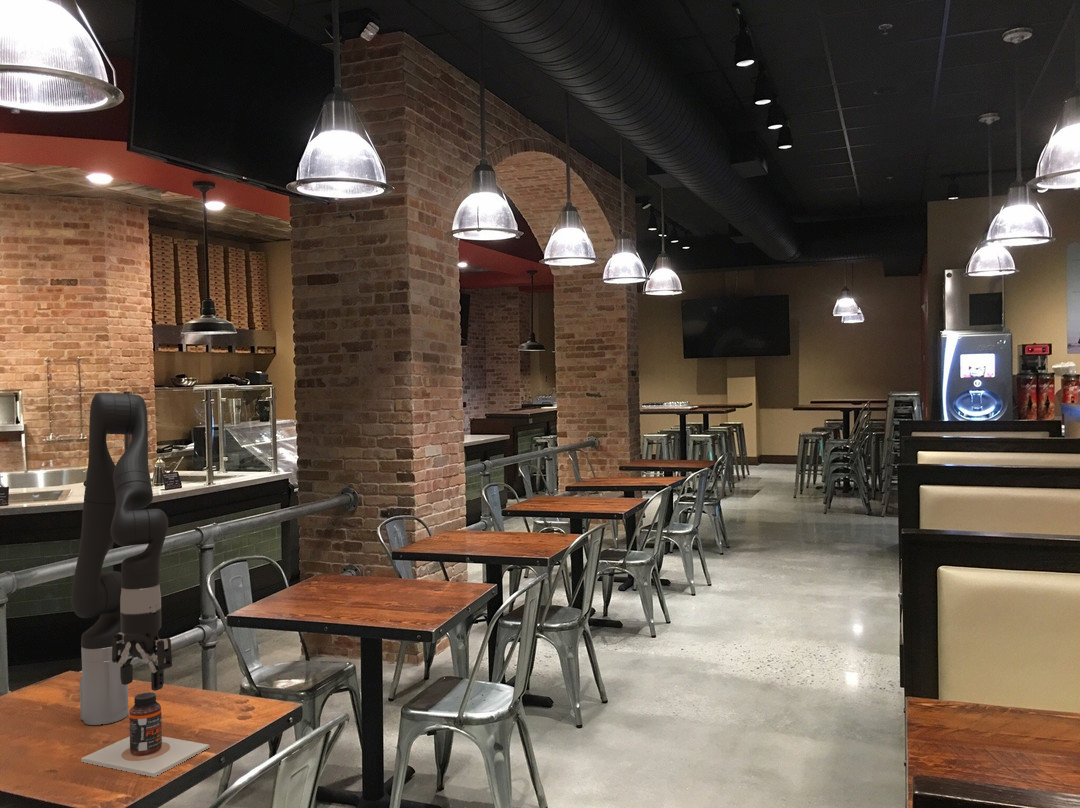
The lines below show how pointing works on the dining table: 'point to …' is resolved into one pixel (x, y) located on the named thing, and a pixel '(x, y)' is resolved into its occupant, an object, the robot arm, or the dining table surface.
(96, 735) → the dining table surface
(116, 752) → the board
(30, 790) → the dining table surface
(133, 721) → the supplement bottle
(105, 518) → the robot arm
